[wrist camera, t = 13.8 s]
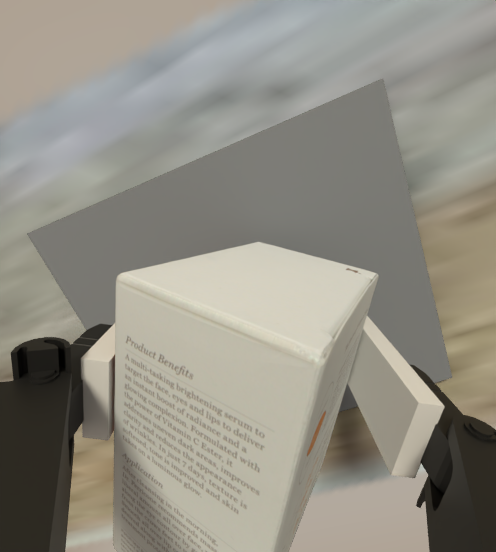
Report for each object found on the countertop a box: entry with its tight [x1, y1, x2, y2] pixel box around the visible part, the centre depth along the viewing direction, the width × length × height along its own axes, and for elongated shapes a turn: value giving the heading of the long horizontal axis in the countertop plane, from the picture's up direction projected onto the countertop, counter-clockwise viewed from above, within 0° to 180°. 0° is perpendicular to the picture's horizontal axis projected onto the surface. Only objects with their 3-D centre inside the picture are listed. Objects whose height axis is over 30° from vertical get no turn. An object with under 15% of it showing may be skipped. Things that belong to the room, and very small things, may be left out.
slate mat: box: [27, 79, 452, 412], centre depth 16 cm, size 18×16×1 cm
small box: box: [113, 242, 379, 552], centre depth 11 cm, size 8×6×10 cm
